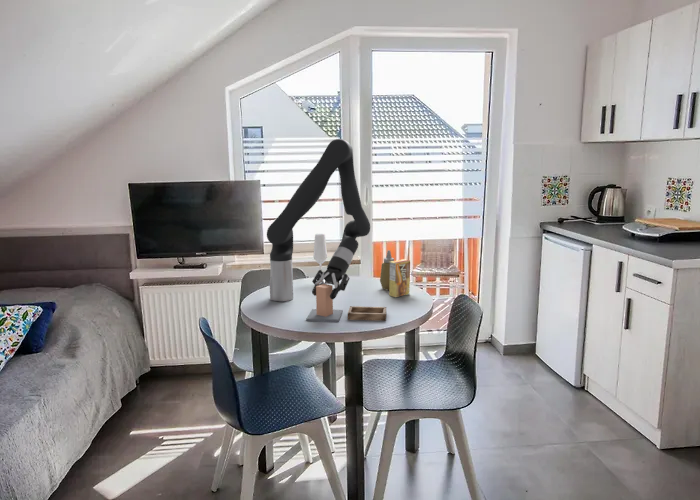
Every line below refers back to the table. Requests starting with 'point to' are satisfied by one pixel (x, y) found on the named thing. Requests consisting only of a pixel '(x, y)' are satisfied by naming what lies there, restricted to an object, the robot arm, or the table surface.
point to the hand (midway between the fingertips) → (322, 296)
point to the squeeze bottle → (386, 271)
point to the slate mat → (331, 318)
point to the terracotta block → (324, 300)
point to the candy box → (399, 278)
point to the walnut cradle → (367, 313)
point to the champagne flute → (320, 250)
